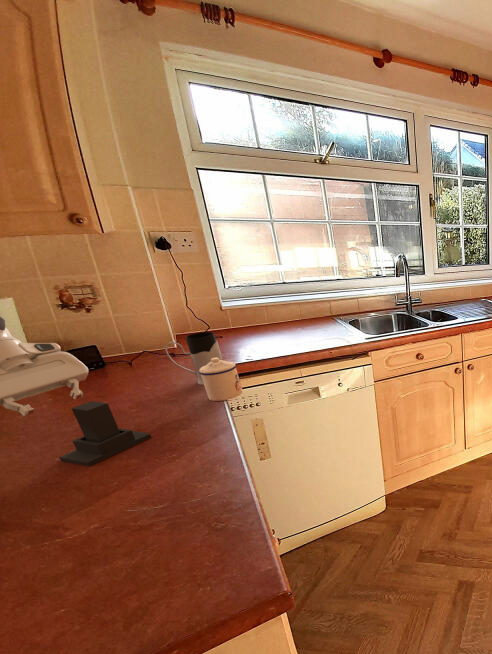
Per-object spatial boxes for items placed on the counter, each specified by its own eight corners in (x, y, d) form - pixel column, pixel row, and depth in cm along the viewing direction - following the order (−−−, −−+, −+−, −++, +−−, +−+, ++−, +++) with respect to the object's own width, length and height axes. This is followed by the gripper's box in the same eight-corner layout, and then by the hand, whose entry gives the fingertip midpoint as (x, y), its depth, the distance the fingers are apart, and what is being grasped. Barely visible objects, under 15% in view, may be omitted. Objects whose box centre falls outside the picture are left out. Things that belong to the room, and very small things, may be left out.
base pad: (89, 466, 91) (82, 452, 89) (60, 460, 93) (53, 447, 92) (151, 437, 102) (146, 424, 101) (124, 432, 105) (119, 420, 103)
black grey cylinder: (227, 381, 136) (213, 336, 130) (173, 389, 130) (157, 343, 125) (231, 373, 143) (218, 330, 137) (181, 380, 138) (165, 335, 132)
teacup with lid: (246, 395, 125) (235, 358, 120) (210, 404, 119) (197, 366, 115) (239, 384, 133) (228, 349, 129) (204, 392, 128) (192, 355, 123)
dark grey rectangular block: (105, 450, 95) (87, 410, 91) (89, 447, 96) (71, 408, 92) (124, 441, 98) (107, 402, 95) (109, 439, 100) (92, 400, 96)
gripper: (-57, 368, 86) (-4, 416, 88) (64, 341, 105) (107, 381, 106) (-59, 386, 89) (-7, 432, 90) (59, 356, 108) (101, 395, 109)
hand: (55, 404), depth 98 cm, fingers open, 8 cm apart
